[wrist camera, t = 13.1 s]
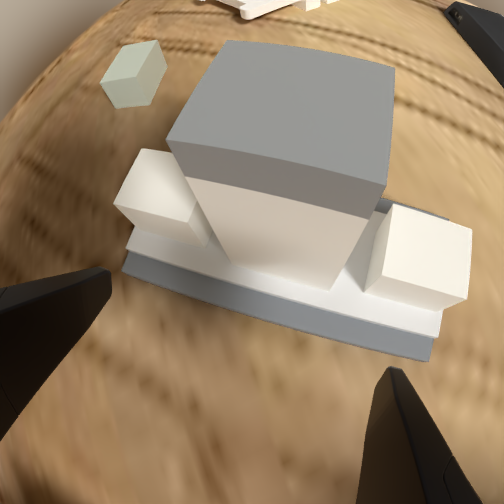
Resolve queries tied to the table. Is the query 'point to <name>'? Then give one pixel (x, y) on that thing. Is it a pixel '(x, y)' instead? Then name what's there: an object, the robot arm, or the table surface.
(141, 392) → the table surface
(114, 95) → the box
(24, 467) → the table surface
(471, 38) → the dark grey faceted block
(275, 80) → the block
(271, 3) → the organizer
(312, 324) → the board
